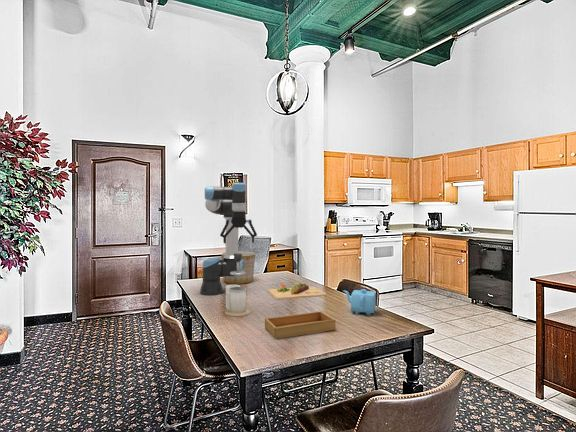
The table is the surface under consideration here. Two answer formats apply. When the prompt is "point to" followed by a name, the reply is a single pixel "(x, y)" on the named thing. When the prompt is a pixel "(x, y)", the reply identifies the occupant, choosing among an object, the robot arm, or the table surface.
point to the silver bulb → (237, 257)
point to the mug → (230, 287)
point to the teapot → (362, 301)
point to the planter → (243, 269)
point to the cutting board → (296, 292)
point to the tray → (299, 324)
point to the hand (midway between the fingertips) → (238, 249)
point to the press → (236, 302)
